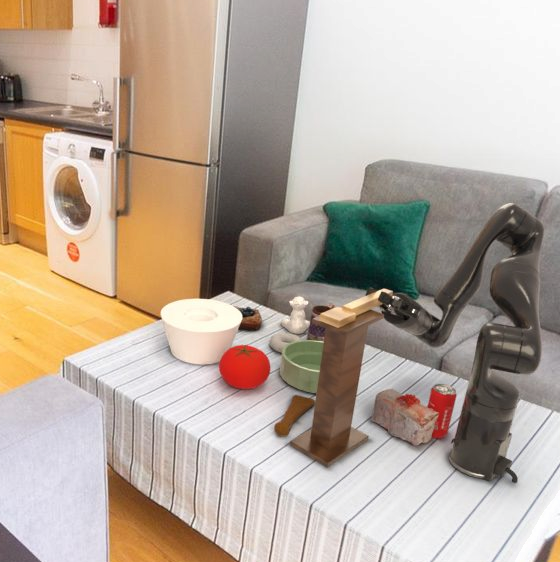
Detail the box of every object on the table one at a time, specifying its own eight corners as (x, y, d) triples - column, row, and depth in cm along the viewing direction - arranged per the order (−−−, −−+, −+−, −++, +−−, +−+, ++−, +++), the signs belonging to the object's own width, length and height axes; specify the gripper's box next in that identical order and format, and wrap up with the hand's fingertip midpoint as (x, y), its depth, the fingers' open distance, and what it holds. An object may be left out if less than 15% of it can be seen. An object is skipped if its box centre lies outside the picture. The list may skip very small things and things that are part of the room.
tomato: (244, 366, 168) (246, 333, 165) (278, 385, 159) (282, 351, 155) (207, 381, 161) (209, 347, 157) (241, 402, 151) (244, 366, 147)
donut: (296, 359, 173) (307, 345, 180) (298, 349, 171) (308, 335, 179) (264, 350, 178) (275, 337, 185) (265, 340, 176) (276, 328, 184)
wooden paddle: (377, 295, 134) (379, 286, 133) (396, 301, 130) (398, 292, 130) (319, 320, 121) (320, 310, 120) (338, 328, 118) (339, 318, 117)
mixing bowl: (363, 380, 161) (367, 358, 158) (322, 403, 151) (326, 379, 148) (306, 355, 175) (309, 334, 172) (265, 374, 164) (268, 352, 162)
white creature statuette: (309, 325, 194) (314, 291, 190) (313, 336, 186) (317, 302, 182) (280, 323, 195) (283, 290, 191) (282, 334, 187) (286, 300, 183)
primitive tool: (294, 396, 154) (296, 384, 152) (315, 402, 151) (317, 390, 150) (272, 434, 138) (273, 422, 137) (295, 441, 136) (297, 429, 134)
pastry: (226, 315, 202) (227, 299, 200) (262, 318, 199) (263, 302, 197) (223, 328, 192) (224, 312, 190) (260, 332, 189) (262, 316, 187)
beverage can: (445, 442, 136) (456, 397, 131) (420, 434, 138) (430, 391, 134) (447, 430, 140) (458, 387, 135) (423, 424, 142) (433, 381, 138)
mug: (322, 351, 177) (327, 314, 173) (301, 343, 182) (306, 307, 178) (339, 340, 184) (344, 305, 179) (319, 333, 188) (323, 298, 184)
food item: (438, 441, 136) (446, 405, 132) (417, 453, 132) (425, 416, 128) (386, 413, 147) (392, 378, 143) (365, 423, 143) (371, 388, 139)
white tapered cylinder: (143, 349, 178) (143, 313, 174) (196, 326, 193) (197, 292, 189) (203, 379, 162) (205, 340, 157) (255, 351, 177) (259, 315, 172)
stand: (368, 440, 136) (391, 314, 124) (327, 467, 127) (347, 335, 115) (331, 420, 144) (349, 300, 132) (289, 445, 135) (305, 318, 123)
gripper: (383, 289, 145) (353, 269, 133) (439, 307, 134) (412, 287, 123) (371, 317, 145) (340, 299, 133) (426, 337, 135) (398, 320, 123)
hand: (375, 293), depth 128 cm, fingers closed on wooden paddle, 2 cm apart
